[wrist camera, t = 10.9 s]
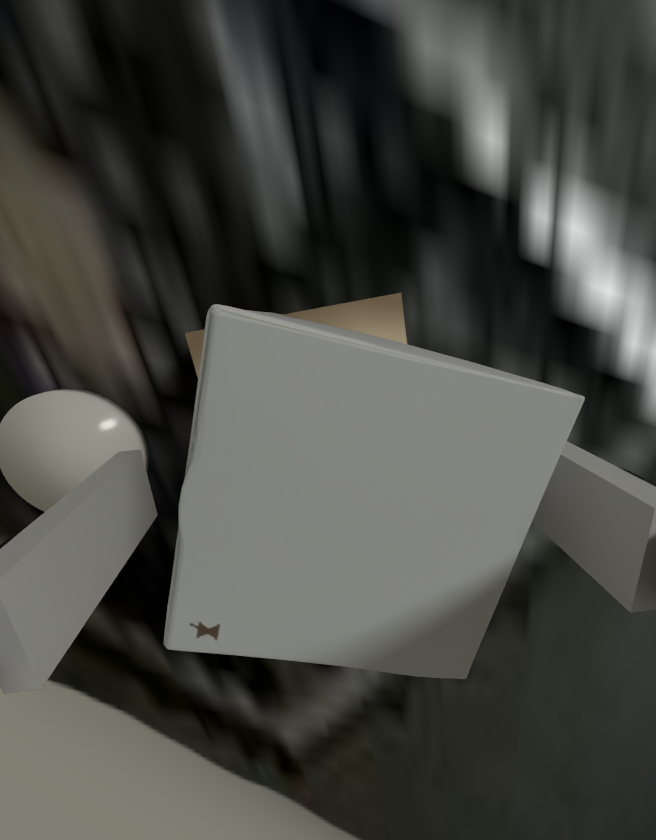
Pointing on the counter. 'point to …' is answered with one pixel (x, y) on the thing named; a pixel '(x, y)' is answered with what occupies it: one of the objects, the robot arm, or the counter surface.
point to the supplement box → (353, 496)
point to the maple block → (340, 321)
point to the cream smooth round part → (63, 442)
